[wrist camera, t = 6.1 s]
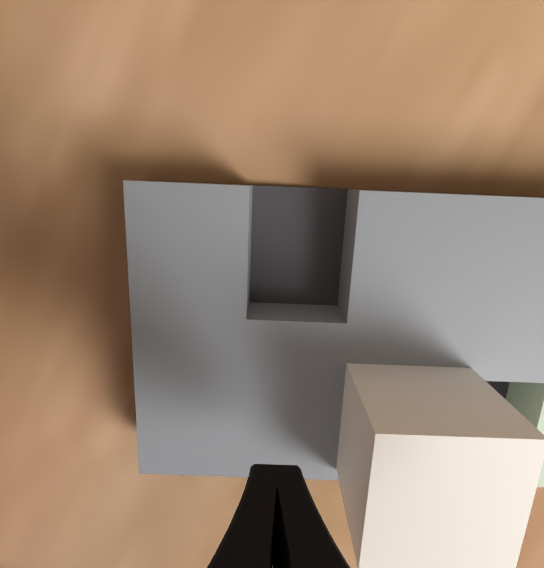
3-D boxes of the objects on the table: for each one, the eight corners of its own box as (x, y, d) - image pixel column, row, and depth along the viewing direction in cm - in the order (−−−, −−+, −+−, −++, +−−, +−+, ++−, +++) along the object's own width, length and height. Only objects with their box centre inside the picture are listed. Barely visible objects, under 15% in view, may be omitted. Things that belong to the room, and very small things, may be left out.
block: (336, 469, 15) (358, 569, 11) (346, 363, 14) (375, 434, 10) (451, 473, 15) (513, 574, 11) (471, 367, 14) (548, 439, 10)
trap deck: (155, 437, 17) (124, 504, 14) (144, 180, 14) (102, 180, 11) (602, 452, 17) (688, 523, 14) (678, 202, 15) (810, 209, 11)
